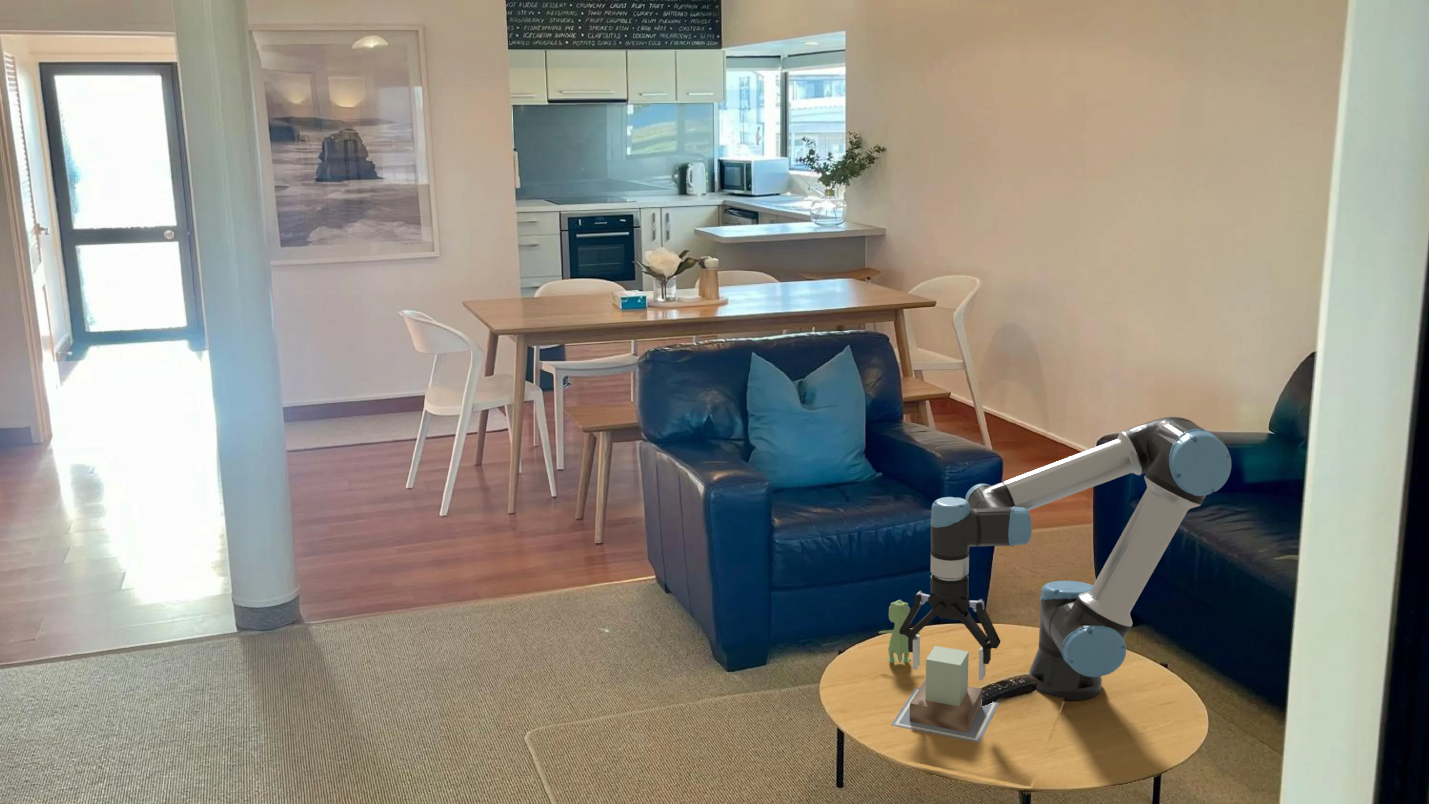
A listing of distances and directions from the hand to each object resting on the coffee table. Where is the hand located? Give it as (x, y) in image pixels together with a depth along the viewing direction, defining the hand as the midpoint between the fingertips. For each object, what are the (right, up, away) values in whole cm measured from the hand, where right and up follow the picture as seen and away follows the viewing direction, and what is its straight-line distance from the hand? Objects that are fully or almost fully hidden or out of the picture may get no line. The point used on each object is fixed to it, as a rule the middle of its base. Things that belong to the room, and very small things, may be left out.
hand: (948, 672), depth 241 cm
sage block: (0, -5, +1) cm, 5 cm away
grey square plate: (0, -10, +2) cm, 10 cm away
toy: (-6, -4, +27) cm, 28 cm away
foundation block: (0, -9, +2) cm, 9 cm away
